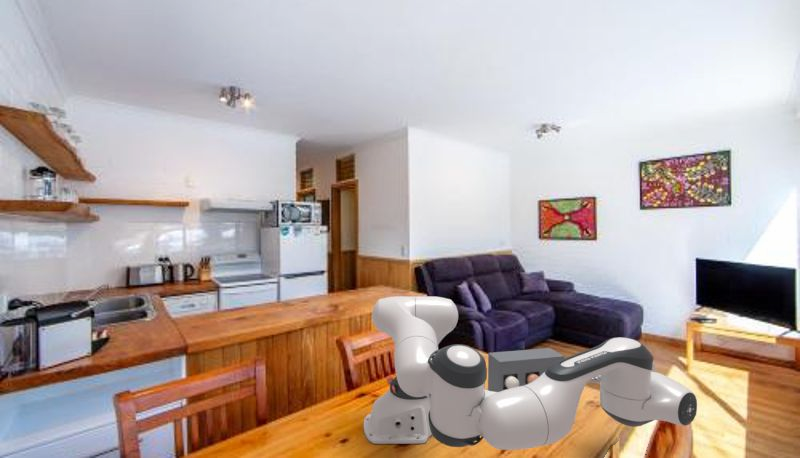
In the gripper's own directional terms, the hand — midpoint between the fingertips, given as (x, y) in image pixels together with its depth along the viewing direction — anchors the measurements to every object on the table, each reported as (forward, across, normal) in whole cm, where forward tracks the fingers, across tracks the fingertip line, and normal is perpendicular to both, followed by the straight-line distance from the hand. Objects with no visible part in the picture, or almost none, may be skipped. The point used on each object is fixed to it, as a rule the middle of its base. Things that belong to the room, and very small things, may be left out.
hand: (587, 356), depth 103 cm
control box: (+19, -8, -22) cm, 30 cm away
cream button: (+14, -16, -15) cm, 26 cm away
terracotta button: (+14, -8, -15) cm, 22 cm away
